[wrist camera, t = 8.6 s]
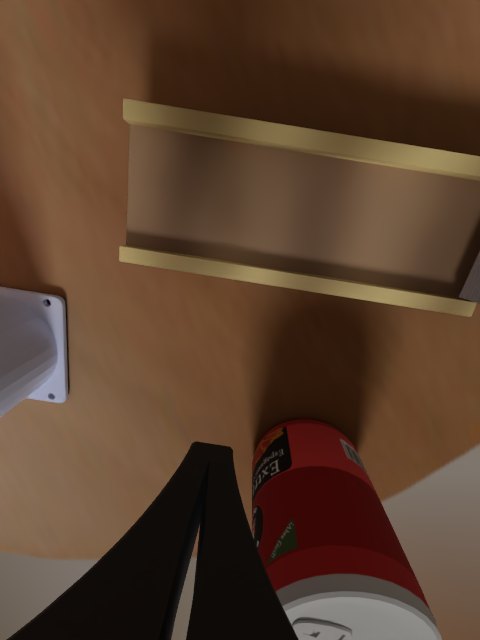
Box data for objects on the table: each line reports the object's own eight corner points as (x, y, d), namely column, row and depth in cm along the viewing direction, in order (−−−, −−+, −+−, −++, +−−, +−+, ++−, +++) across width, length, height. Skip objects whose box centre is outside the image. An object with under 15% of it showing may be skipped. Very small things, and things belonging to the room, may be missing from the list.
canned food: (261, 407, 22) (269, 578, 11) (369, 424, 22) (478, 611, 11) (244, 487, 24) (238, 692, 13) (341, 503, 24) (410, 718, 14)
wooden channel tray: (145, 254, 19) (119, 261, 15) (151, 126, 16) (123, 98, 13) (428, 299, 19) (471, 316, 15) (472, 178, 17) (533, 165, 13)
